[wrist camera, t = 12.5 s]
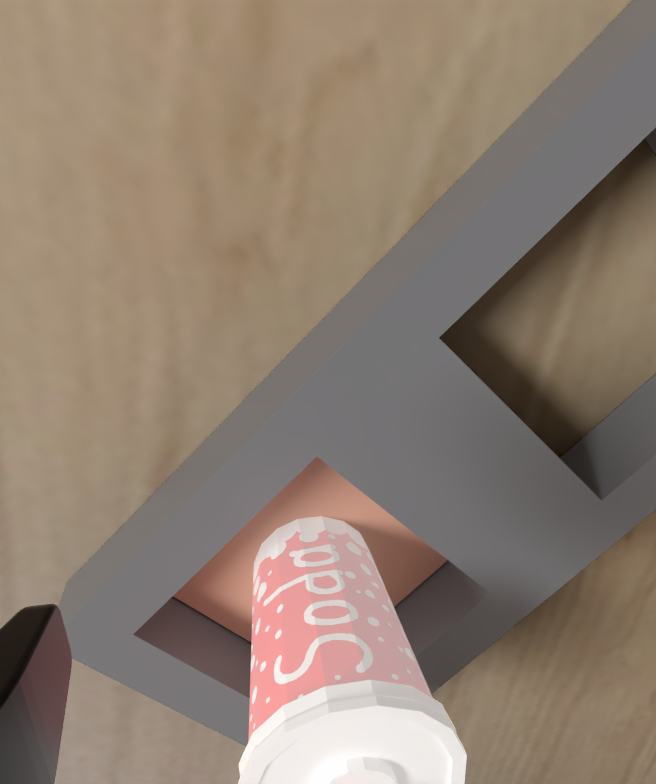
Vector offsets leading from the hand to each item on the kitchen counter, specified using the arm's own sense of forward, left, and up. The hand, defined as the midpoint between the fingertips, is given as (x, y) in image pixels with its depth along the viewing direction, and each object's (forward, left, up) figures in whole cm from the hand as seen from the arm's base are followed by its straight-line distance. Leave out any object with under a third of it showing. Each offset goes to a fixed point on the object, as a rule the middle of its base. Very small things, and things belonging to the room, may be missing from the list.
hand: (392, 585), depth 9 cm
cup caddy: (-6, +4, -13) cm, 15 cm away
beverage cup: (-1, +10, -13) cm, 16 cm away
